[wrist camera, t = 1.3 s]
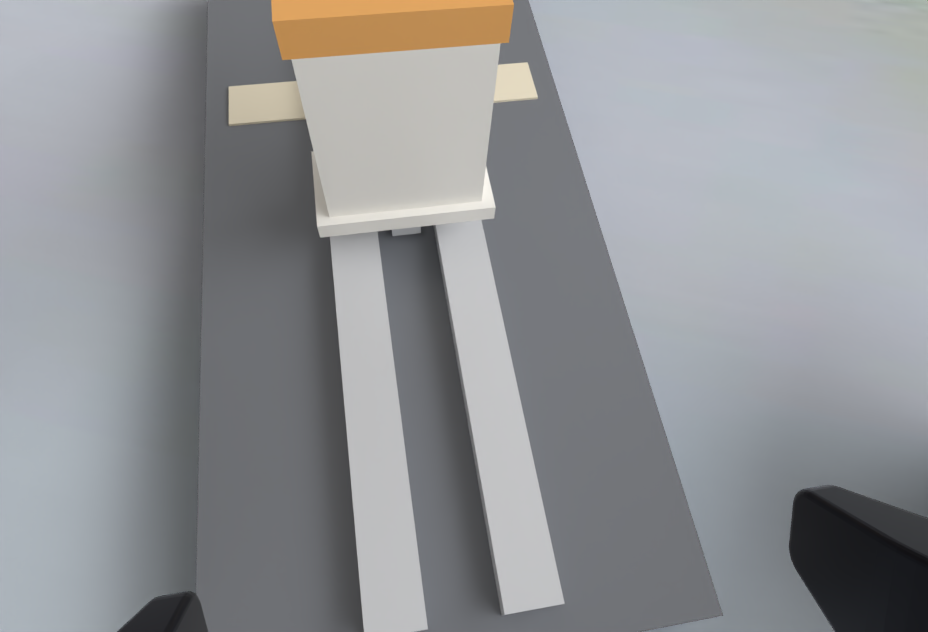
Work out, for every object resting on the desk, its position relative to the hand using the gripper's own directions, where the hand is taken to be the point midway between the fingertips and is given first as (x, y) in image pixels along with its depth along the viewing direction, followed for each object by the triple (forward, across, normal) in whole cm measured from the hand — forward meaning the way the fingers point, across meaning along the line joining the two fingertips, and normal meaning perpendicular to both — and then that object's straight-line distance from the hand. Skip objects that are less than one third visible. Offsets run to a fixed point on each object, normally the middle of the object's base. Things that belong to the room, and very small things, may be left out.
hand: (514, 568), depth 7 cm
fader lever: (+16, 0, -1) cm, 17 cm away
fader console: (+19, 0, 0) cm, 19 cm away
